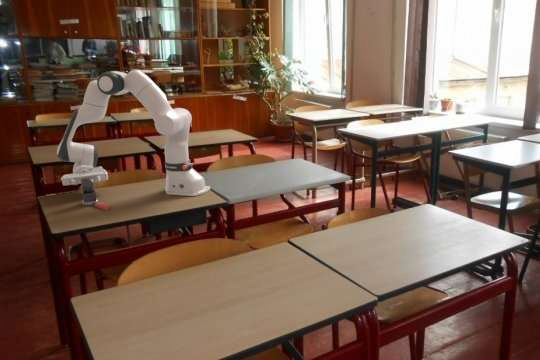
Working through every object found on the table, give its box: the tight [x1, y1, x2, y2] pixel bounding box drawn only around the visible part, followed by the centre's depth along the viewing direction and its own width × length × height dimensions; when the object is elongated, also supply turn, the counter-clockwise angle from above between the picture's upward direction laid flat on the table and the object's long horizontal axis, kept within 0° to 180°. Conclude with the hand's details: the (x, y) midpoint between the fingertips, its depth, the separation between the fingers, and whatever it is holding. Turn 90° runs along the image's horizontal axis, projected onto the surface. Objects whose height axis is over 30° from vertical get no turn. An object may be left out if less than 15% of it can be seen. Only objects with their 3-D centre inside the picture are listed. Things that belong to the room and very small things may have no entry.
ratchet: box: [81, 197, 113, 211], centre depth 211 cm, size 18×7×4 cm, turn 53°
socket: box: [81, 177, 97, 203], centre depth 212 cm, size 5×5×10 cm
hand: (86, 181), depth 217 cm, fingers open, 8 cm apart
